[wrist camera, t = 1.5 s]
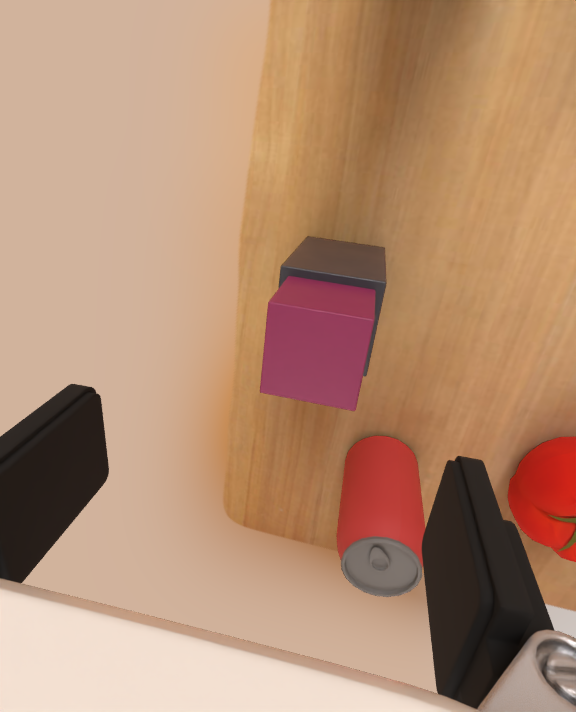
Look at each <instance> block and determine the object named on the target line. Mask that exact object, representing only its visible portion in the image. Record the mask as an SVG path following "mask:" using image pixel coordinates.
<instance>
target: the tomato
mask: <svg viewBox="0 0 576 712" xmlns="http://www.w3.org/2000/svg"><path fill="white" fill-rule="evenodd" d="M508 501H509V506H510V509H511V511H512V513H513V515H514V518H515V520H516V521H517V523H518V525H519V526H520V528H521V530H522V531H523V532H524V533H525V534H527V535H528V536H529V537H530V538H531V539H532V540H534V541H536V542H539V543H541V544H543V545H545V546H548V547H551V548H552V549H553V550H554V551H555V552H556V553H557V554H558V555H559V556H560V557H561V558H564V559H567V560H570V561H574V562H576V437H559V438H556V439H553V440H550V441H546V442H543V443H542V444H540V445H539V446H537V447H536V448H534V449H533V450H532V451H530V452H529V453H528V454H527V455H526V456H525V457H524V459H523V460H522V461H521V462H520V463H519V466H518V469H517V471H516V474H515V475H514V476H513V477H512V478H511V479H510V484H509V491H508Z"/></svg>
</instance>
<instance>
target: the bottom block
mask: <svg viewBox="0 0 576 712" xmlns="http://www.w3.org/2000/svg"><path fill="white" fill-rule="evenodd" d="M288 276H293V277H299V278H305V279H312V280H318V281H324V282H330V283H336V284H343V285H349V286H355V287H361V288H367V289H374V290H375V291H376V293H375V319H374V325H373V330H372V335H371V339H370V344H369V349H368V354H367V358H366V363H365V368H364V373H363V376H366V375H367V371H368V367H369V362H370V357H371V353H372V348H373V343H374V339H375V334H376V329H377V325H378V320H379V315H380V311H381V306H382V302H383V297H384V292H385V288H386V262H385V248H383V247H377V246H370V245H363V244H356V243H350V242H343V241H336V240H330V239H323V238H316V237H309V236H308V237H307V238H306V239H305V240H304V241H303V242H302V243H301V244H300V245H299V246H298V248H297V249H296V250H295V251H294V252H293V253H292V254H291V255H290V256H289V258H288V259H287V260H286V261H285V262H284V263H283V264H282V265H281V270H280V279H279V288H280V287H281V285H282V284H283V283H284V281H285V280H286V279H287V277H288Z"/></svg>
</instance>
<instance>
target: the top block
mask: <svg viewBox="0 0 576 712" xmlns="http://www.w3.org/2000/svg"><path fill="white" fill-rule="evenodd" d="M375 293H376V291H375V290H374V289H367V288H361V287H355V286H349V285H343V284H336V283H330V282H324V281H318V280H312V279H305V278H299V277H293V276H288V277H287V279H286V280H285V281H284V283H283V284H282V285H281V287H280V288H279V289H278V290H277V292H276V293H275V294H274V296H273V297H272V298H271V300H270V301H269V302H268V311H267V322H266V332H265V343H264V353H263V364H262V375H261V385H260V392H261V393H265V394H270V395H275V396H280V397H286V398H291V399H296V400H301V401H306V402H311V403H316V404H321V405H326V406H331V407H336V408H341V409H346V410H351V411H355V410H356V406H357V401H358V396H359V392H360V387H361V382H362V377H363V373H364V368H365V363H366V358H367V354H368V349H369V344H370V339H371V335H372V330H373V325H374V319H375Z"/></svg>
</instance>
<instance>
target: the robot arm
mask: <svg viewBox="0 0 576 712" xmlns="http://www.w3.org/2000/svg"><path fill="white" fill-rule="evenodd" d="M108 473H109V468H108V458H107V449H106V441H105V431H104V422H103V413H102V404H101V398H100V395H99V394H96V391H95V389H94V388H92V387H87V386H82V385H76V384H70V385H69V386H67V387H66V388H65V389H63V390H62V391H60V392H59V393H58V394H56V395H55V396H54V397H52V398H51V399H50V400H49V401H47V402H46V403H45V404H43V405H42V406H41V407H39V408H38V409H37V410H35V411H34V412H33V413H31V414H30V415H29V416H27V417H26V418H25V419H23V420H22V421H21V422H19V423H18V424H17V425H15V426H14V427H13V428H11V429H10V430H9V431H7V432H6V433H5V434H3V435H2V436H1V437H0V712H576V639H575V638H574V637H571V636H569V635H567V634H564V633H562V632H559V631H554V628H553V625H552V622H551V620H550V617H549V614H548V612H547V609H546V606H545V603H544V601H543V598H542V595H541V593H540V590H539V587H538V584H537V582H536V579H535V576H534V573H533V571H532V568H531V565H530V563H529V560H528V557H527V554H526V552H525V549H524V546H523V544H522V541H521V538H520V535H519V533H518V530H517V528H516V526H515V524H514V523H512V522H511V521H506V520H503V518H502V515H501V512H500V509H499V507H498V504H497V501H496V498H495V495H494V492H493V489H492V486H491V483H490V480H489V477H488V474H487V471H486V468H485V465H484V463H483V461H482V460H478V459H472V458H467V457H462V456H457V458H456V459H455V461H451V460H448V462H447V464H446V467H445V470H444V473H443V476H442V479H441V482H440V485H439V488H438V492H437V495H436V498H435V501H434V504H433V507H432V510H431V513H430V517H429V520H428V523H427V526H426V529H425V532H424V535H423V540H422V558H423V568H424V577H425V586H426V596H427V605H428V614H429V623H430V632H431V642H432V651H433V660H434V670H435V678H436V687H437V692H438V694H437V693H434V692H431V691H428V690H424V689H421V688H418V687H415V686H412V685H409V684H406V683H402V682H399V681H395V680H391V679H388V678H385V677H381V676H378V675H374V674H370V673H367V672H363V671H360V670H356V669H352V668H349V667H345V666H342V665H338V664H334V663H330V662H327V661H323V660H319V659H315V658H312V657H308V656H304V655H300V654H296V653H292V652H289V651H285V650H281V649H277V648H273V647H269V646H266V645H261V644H258V643H254V642H250V641H246V640H242V639H239V638H235V637H231V636H227V635H223V634H220V633H216V632H212V631H208V630H204V629H200V628H196V627H192V626H188V625H184V624H180V623H176V622H173V621H169V620H165V619H161V618H157V617H153V616H149V615H145V614H141V613H137V612H133V611H129V610H125V609H121V608H117V607H113V606H110V605H106V604H102V603H97V602H94V601H89V600H85V599H81V598H78V597H73V596H70V595H65V594H61V593H57V592H53V591H49V590H45V589H41V588H37V587H33V586H29V585H25V584H21V583H22V582H23V581H24V580H25V579H26V577H27V576H28V575H29V574H30V572H31V571H32V570H33V569H34V568H35V566H36V565H37V564H38V563H39V562H40V560H41V559H42V558H43V557H44V555H45V554H46V553H47V552H48V551H49V550H50V548H51V547H52V546H53V545H54V544H55V542H56V541H57V540H58V539H59V537H60V536H61V535H62V534H63V533H64V531H65V530H66V529H67V528H68V527H69V525H70V524H71V523H72V522H73V520H74V519H75V518H76V517H77V516H78V515H79V513H80V512H81V511H82V510H83V508H84V507H85V506H86V505H87V504H88V502H89V501H90V500H91V499H92V498H93V496H94V495H95V494H96V493H97V492H98V490H99V489H100V488H101V487H102V486H103V484H104V483H105V481H106V479H107V477H108Z"/></svg>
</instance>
